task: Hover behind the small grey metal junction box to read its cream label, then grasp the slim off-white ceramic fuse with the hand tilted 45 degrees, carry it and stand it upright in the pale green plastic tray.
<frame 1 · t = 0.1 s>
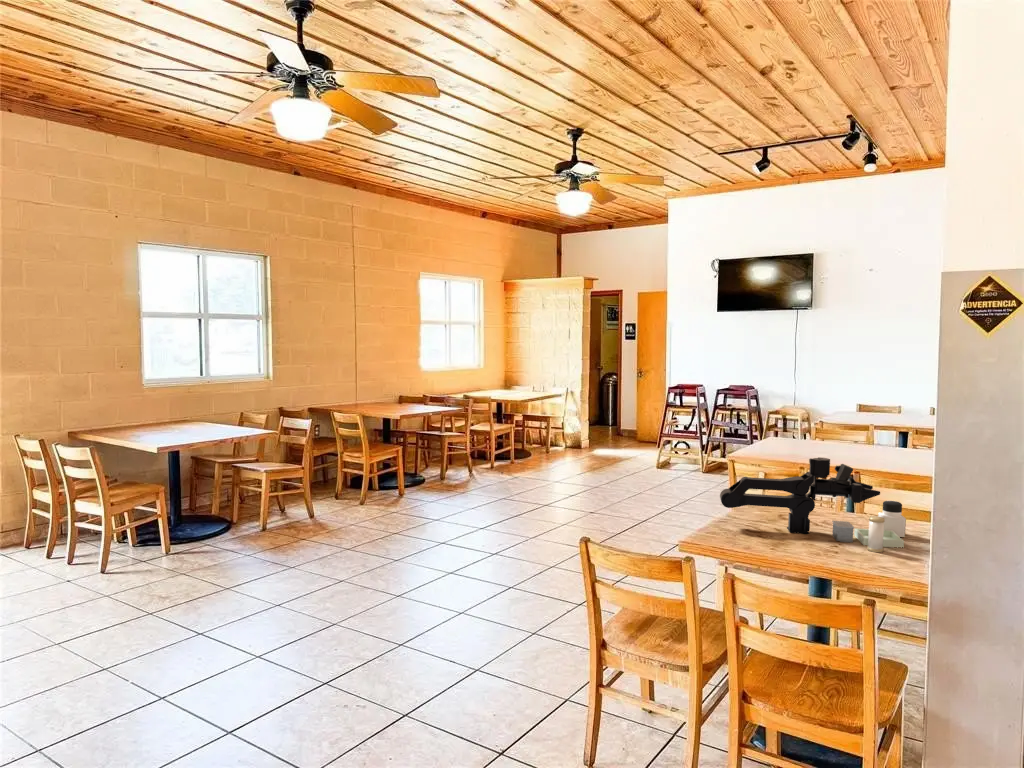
hand: (876, 490, 251), 17 cm above the table, tool horizontal, fingers open, 9 cm apart
junction box: (842, 539, 248), on the table
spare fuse: (875, 550, 236), on the table
tray: (878, 541, 246), on the table
medicine bottle: (890, 535, 255), on the table
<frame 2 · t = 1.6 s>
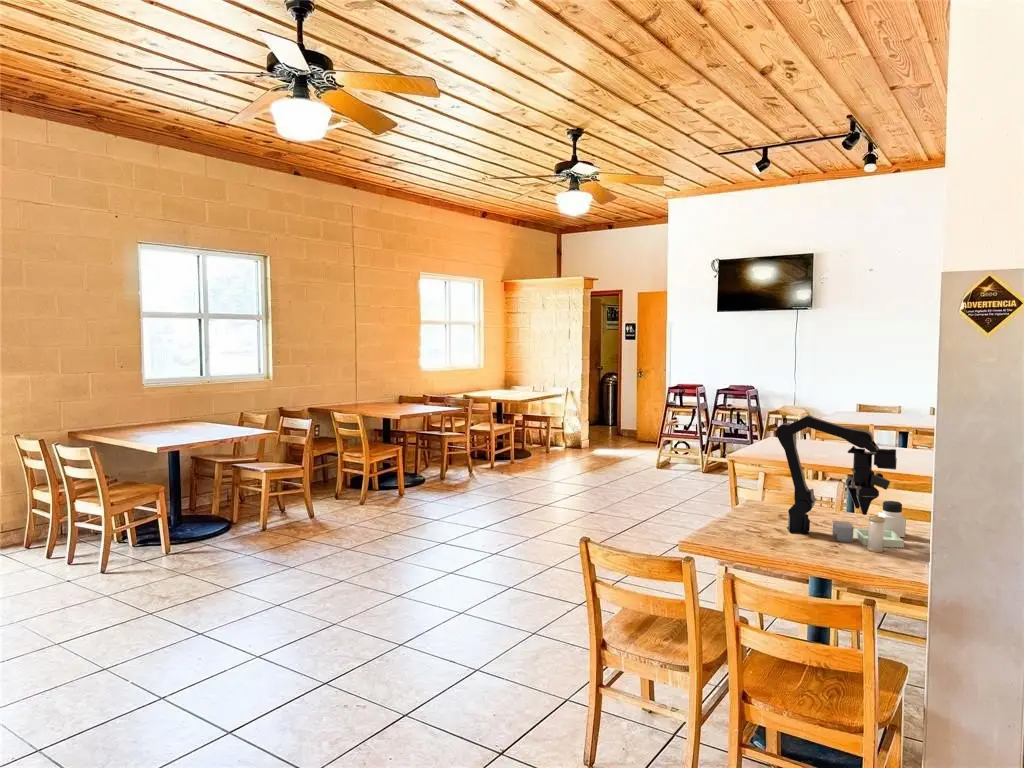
hand: (860, 511, 247), 10 cm above the table, tool pointing down, fingers open, 9 cm apart
nothing on the table moved.
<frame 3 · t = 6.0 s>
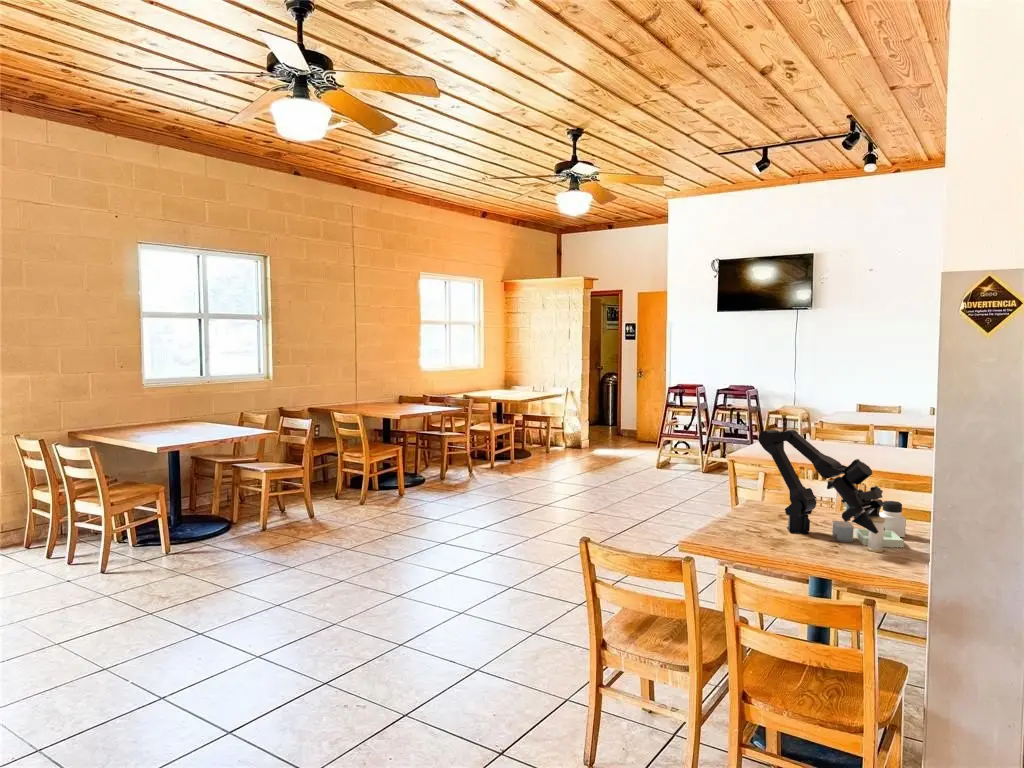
hand: (880, 531, 234), 7 cm above the table, tool tilted 45°, fingers closed on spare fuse, 4 cm apart
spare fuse: (875, 550, 236), on the table, touching gripper
everything else where it was.
when the fingers open (8 cm above the table, at t = 9.6 s): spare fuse stays where it is, resting on tray.
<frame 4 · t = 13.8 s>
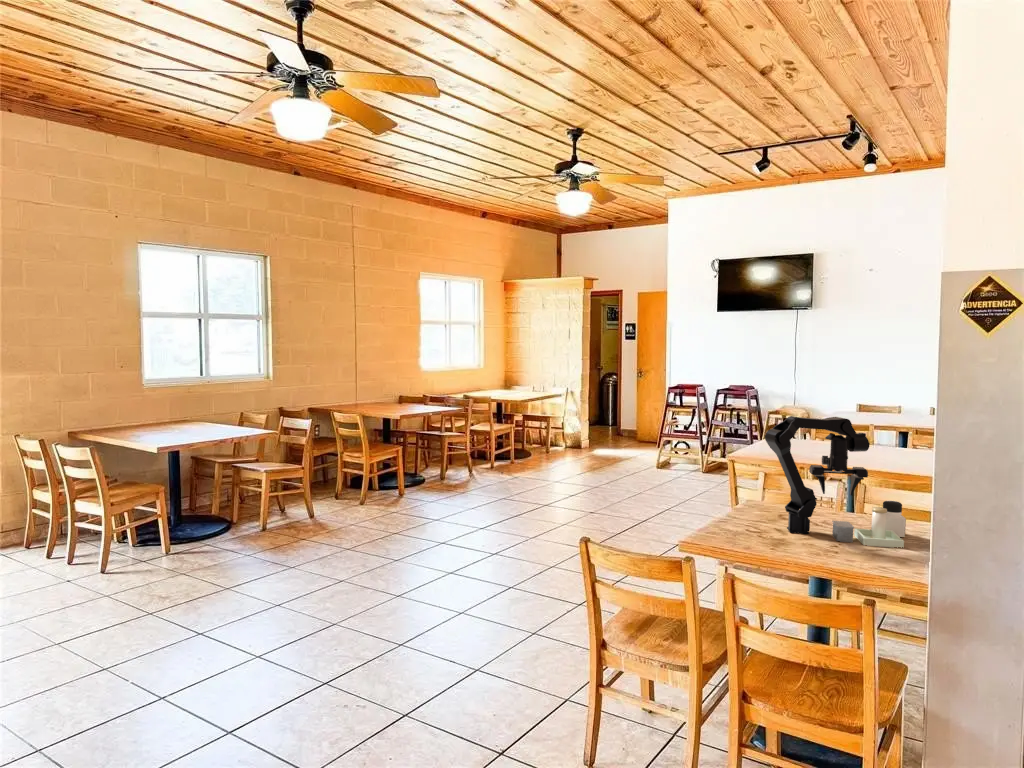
hand: (837, 494, 260), 13 cm above the table, tool pointing down, fingers open, 9 cm apart
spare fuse: (878, 540, 246), point 1 cm above the table, touching tray
everything else where it was.
at the end: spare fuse inside the target area on the tray (0.1 cm from its centre), point 0.5 cm above the tray's base; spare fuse tilted 0°; the gripper is holding nothing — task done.
